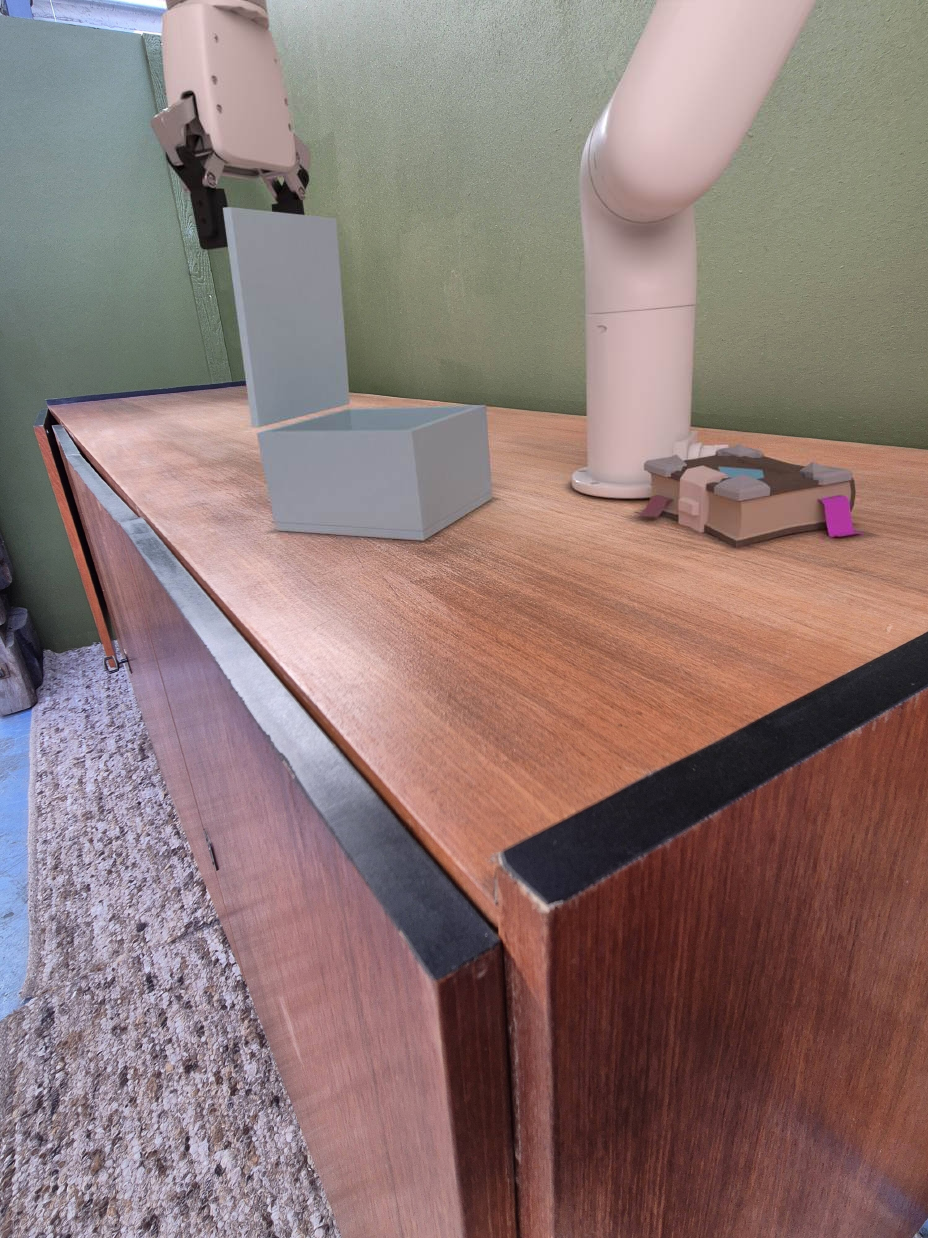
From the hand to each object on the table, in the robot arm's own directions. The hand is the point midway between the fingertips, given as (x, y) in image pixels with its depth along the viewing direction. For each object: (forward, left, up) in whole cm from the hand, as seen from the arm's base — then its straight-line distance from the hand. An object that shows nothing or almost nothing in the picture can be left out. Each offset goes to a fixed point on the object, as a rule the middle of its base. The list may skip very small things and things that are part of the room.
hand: (258, 249), depth 62 cm
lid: (-3, 0, -6) cm, 7 cm away
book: (-39, -5, -24) cm, 46 cm away
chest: (-10, 0, -23) cm, 25 cm away
